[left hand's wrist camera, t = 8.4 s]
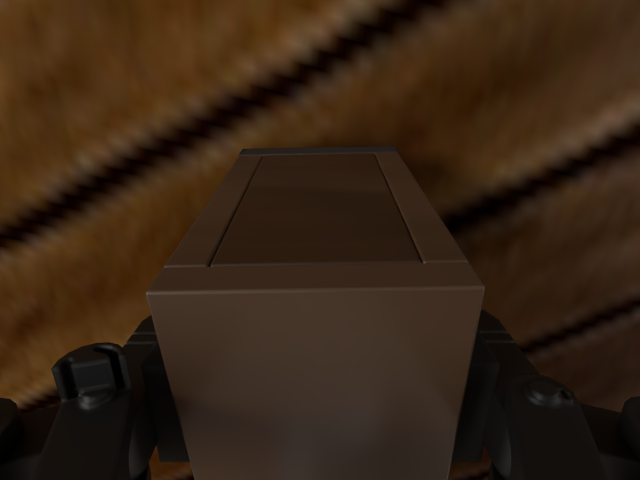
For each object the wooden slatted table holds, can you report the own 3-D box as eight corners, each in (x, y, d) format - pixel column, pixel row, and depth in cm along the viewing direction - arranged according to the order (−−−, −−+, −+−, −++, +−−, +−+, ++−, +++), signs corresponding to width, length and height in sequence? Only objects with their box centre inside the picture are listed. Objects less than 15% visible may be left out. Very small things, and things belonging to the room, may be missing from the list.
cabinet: (373, 493, 25) (399, 730, 16) (280, 494, 25) (259, 730, 17) (394, 145, 15) (488, 286, 7) (242, 148, 15) (142, 292, 7)
